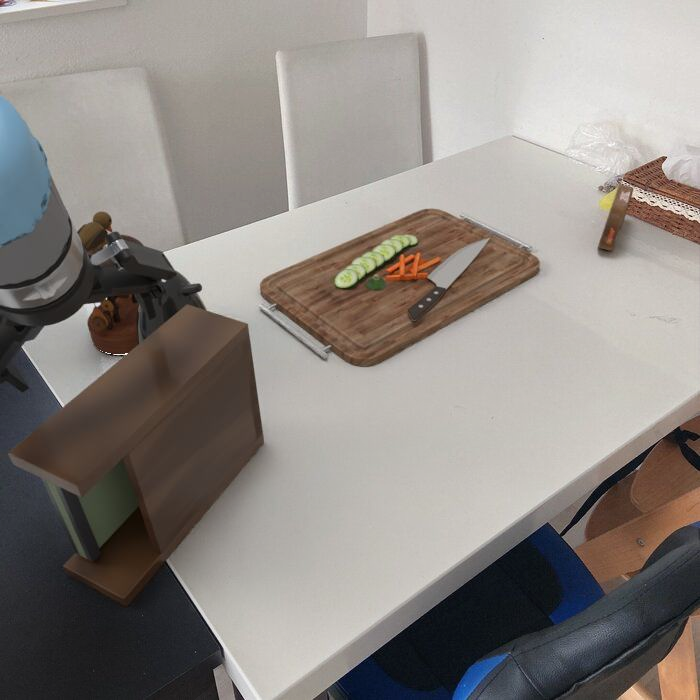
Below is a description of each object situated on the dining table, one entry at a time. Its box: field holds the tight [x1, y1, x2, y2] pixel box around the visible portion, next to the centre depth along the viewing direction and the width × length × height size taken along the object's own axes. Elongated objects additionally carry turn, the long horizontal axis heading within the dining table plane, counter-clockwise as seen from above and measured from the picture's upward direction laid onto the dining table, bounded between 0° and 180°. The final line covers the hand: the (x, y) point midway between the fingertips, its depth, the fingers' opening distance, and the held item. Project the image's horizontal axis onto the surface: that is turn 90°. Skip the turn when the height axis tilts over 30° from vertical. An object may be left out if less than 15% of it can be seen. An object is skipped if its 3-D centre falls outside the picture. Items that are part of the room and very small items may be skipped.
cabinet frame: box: [7, 305, 265, 608], centre depth 70 cm, size 8×24×18 cm, turn 153°
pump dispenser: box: [136, 269, 208, 345], centre depth 89 cm, size 10×10×15 cm
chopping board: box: [258, 208, 541, 368], centre depth 109 cm, size 45×27×3 cm, turn 130°
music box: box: [76, 211, 145, 354], centre depth 94 cm, size 15×11×20 cm
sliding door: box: [40, 458, 139, 562], centre depth 67 cm, size 2×11×14 cm, turn 152°
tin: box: [597, 182, 634, 251], centre depth 116 cm, size 15×3×8 cm, turn 155°
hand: (84, 342), depth 67 cm, fingers open, 13 cm apart
